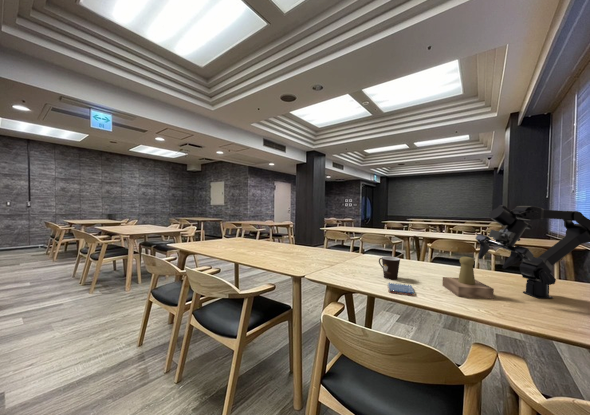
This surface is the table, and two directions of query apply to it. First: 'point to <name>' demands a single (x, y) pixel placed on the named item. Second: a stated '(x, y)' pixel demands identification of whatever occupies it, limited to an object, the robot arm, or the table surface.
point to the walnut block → (468, 288)
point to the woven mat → (401, 289)
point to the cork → (467, 271)
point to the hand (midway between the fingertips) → (490, 263)
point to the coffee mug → (390, 267)
